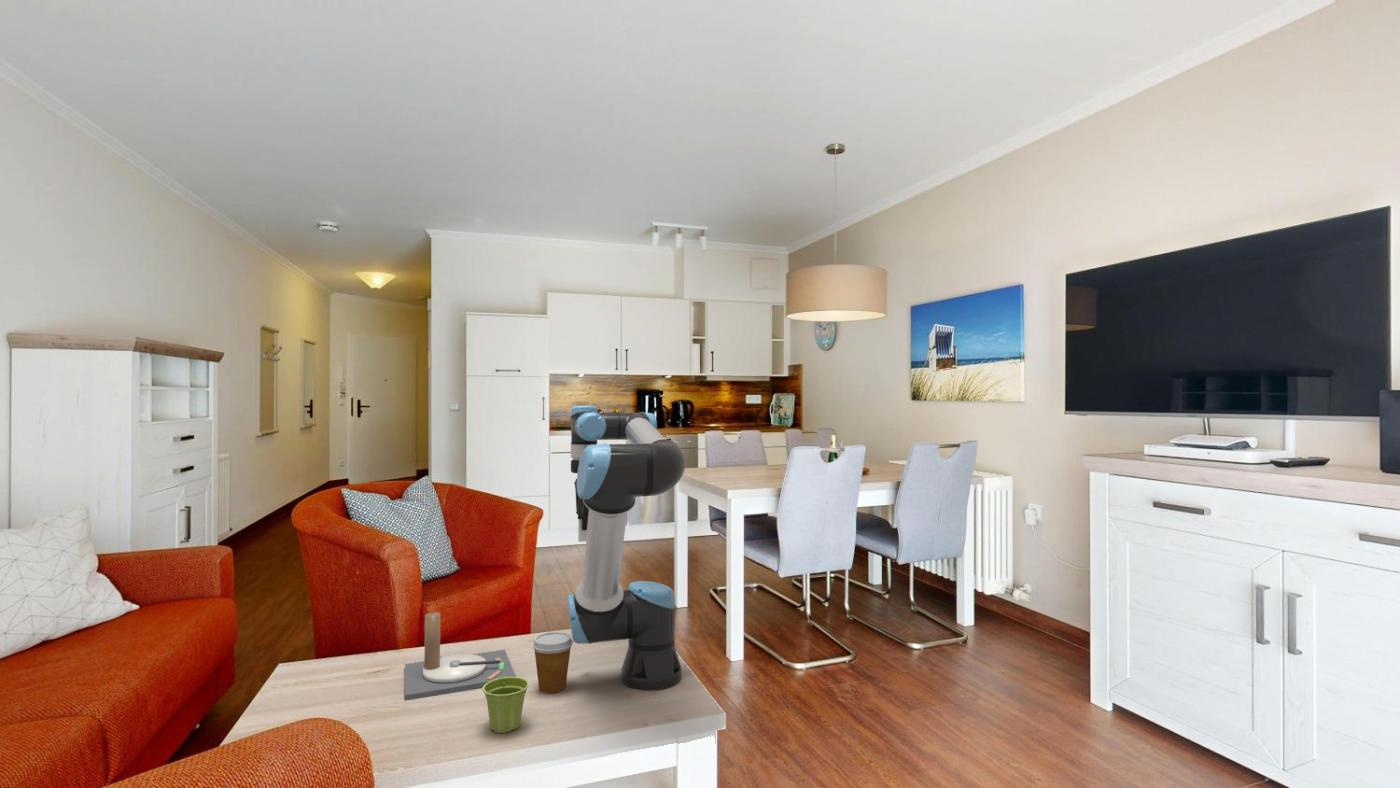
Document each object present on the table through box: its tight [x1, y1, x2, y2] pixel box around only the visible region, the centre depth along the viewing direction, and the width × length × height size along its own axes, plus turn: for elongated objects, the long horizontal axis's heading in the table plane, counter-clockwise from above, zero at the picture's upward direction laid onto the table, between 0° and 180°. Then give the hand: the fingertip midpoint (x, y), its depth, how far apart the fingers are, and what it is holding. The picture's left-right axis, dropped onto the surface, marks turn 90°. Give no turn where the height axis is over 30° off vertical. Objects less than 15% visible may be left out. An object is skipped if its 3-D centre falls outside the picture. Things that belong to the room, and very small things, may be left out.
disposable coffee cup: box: [532, 631, 574, 694], centre depth 158 cm, size 10×10×12 cm
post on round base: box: [423, 611, 501, 683], centre depth 165 cm, size 16×15×14 cm
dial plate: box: [404, 649, 517, 701], centre depth 165 cm, size 20×25×2 cm
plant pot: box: [482, 676, 530, 734], centre depth 139 cm, size 9×9×9 cm
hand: (583, 540), depth 188 cm, fingers closed
